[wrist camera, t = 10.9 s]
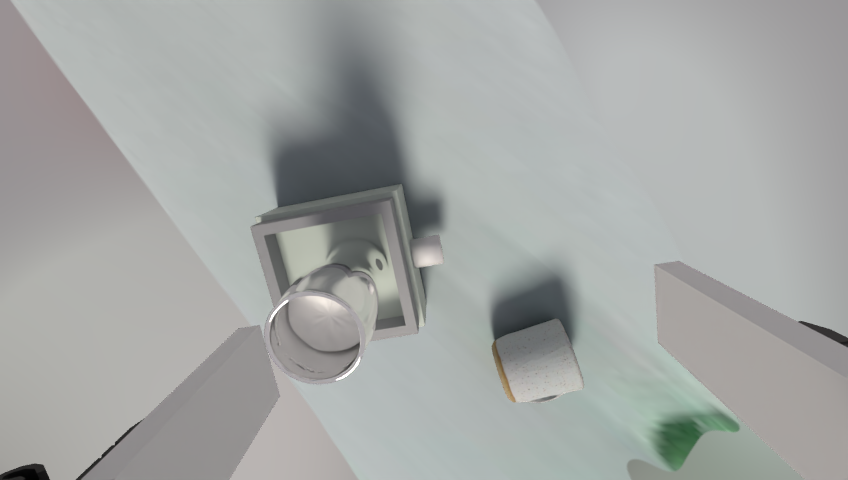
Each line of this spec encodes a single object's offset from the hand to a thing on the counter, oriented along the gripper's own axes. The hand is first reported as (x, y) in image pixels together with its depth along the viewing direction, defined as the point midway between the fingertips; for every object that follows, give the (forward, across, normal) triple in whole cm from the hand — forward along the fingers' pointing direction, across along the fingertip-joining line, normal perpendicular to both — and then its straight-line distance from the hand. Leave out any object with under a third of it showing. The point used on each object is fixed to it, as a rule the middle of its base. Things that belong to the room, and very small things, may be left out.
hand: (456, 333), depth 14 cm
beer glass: (+27, -9, -5) cm, 29 cm away
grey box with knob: (+33, -9, -5) cm, 34 cm away
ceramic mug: (+33, +8, -20) cm, 39 cm away
